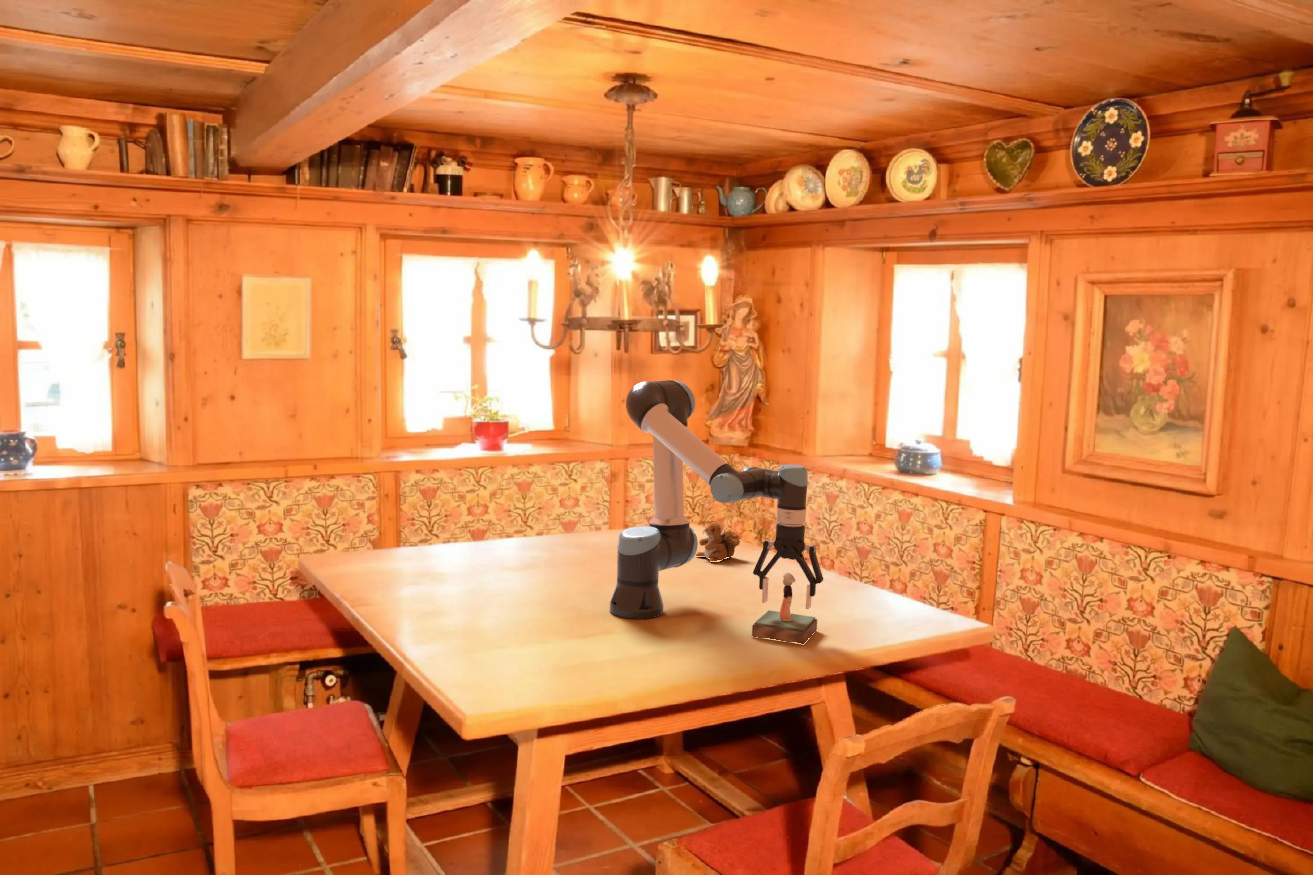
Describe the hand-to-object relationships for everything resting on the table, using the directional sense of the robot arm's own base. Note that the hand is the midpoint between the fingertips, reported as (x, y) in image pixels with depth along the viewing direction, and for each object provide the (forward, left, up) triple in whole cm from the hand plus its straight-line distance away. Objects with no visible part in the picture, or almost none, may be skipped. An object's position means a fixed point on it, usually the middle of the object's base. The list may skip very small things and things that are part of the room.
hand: (786, 604), depth 278 cm
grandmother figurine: (0, 0, -4) cm, 4 cm away
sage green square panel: (0, 0, -8) cm, 8 cm away
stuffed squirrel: (-44, +74, -8) cm, 86 cm away
